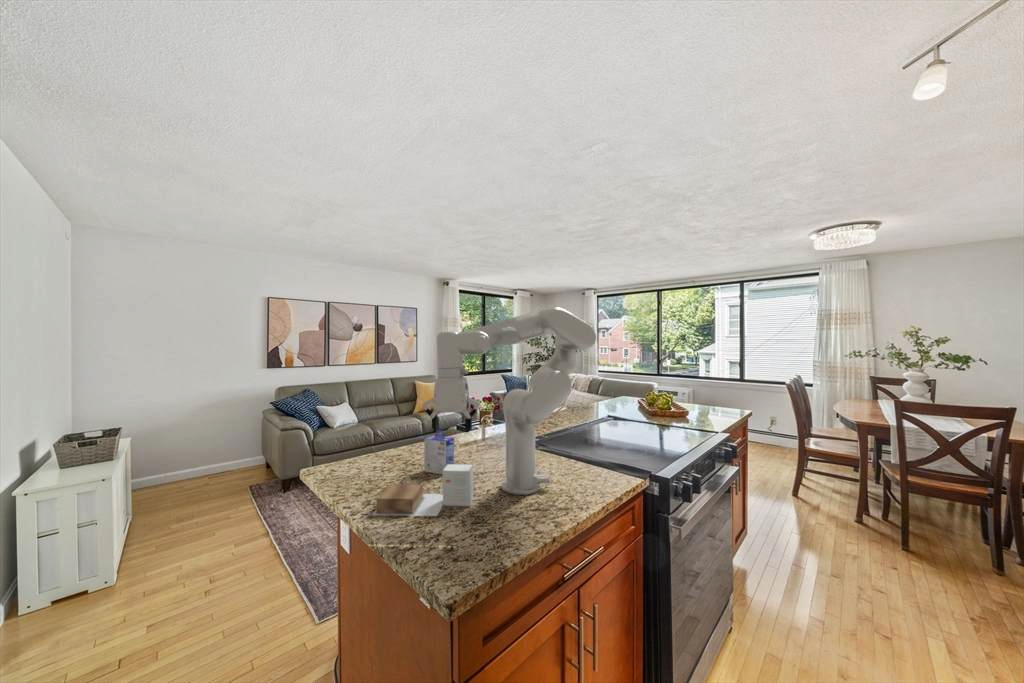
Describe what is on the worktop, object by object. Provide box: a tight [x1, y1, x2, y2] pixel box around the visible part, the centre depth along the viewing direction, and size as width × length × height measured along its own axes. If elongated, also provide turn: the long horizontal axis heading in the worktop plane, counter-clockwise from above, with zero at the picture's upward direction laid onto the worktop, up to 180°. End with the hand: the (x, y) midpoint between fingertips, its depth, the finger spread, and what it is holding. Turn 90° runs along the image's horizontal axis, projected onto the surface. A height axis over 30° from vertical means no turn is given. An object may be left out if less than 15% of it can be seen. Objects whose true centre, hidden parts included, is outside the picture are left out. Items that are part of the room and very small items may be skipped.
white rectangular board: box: [371, 493, 444, 517], centre depth 107 cm, size 18×14×1 cm
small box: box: [441, 463, 474, 507], centre depth 109 cm, size 8×6×10 cm
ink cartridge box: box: [423, 429, 455, 475], centre depth 135 cm, size 10×6×14 cm, turn 66°
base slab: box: [375, 483, 424, 514], centre depth 107 cm, size 10×10×4 cm
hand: (452, 431), depth 110 cm, fingers open, 9 cm apart
